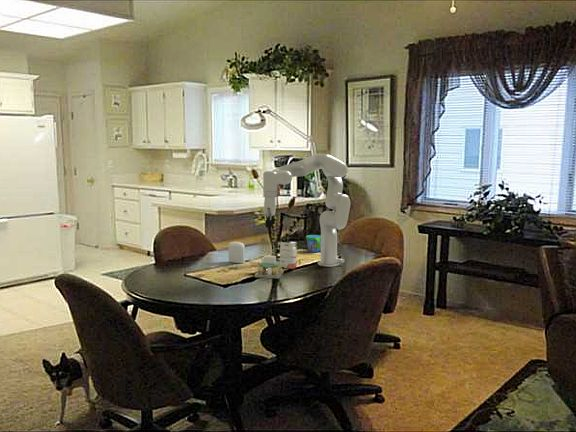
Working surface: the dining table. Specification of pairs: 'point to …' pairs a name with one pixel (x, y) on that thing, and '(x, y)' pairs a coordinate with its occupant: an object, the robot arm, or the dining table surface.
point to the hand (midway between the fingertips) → (270, 226)
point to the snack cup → (313, 243)
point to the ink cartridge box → (288, 255)
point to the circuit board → (269, 261)
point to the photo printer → (236, 252)
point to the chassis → (269, 271)
